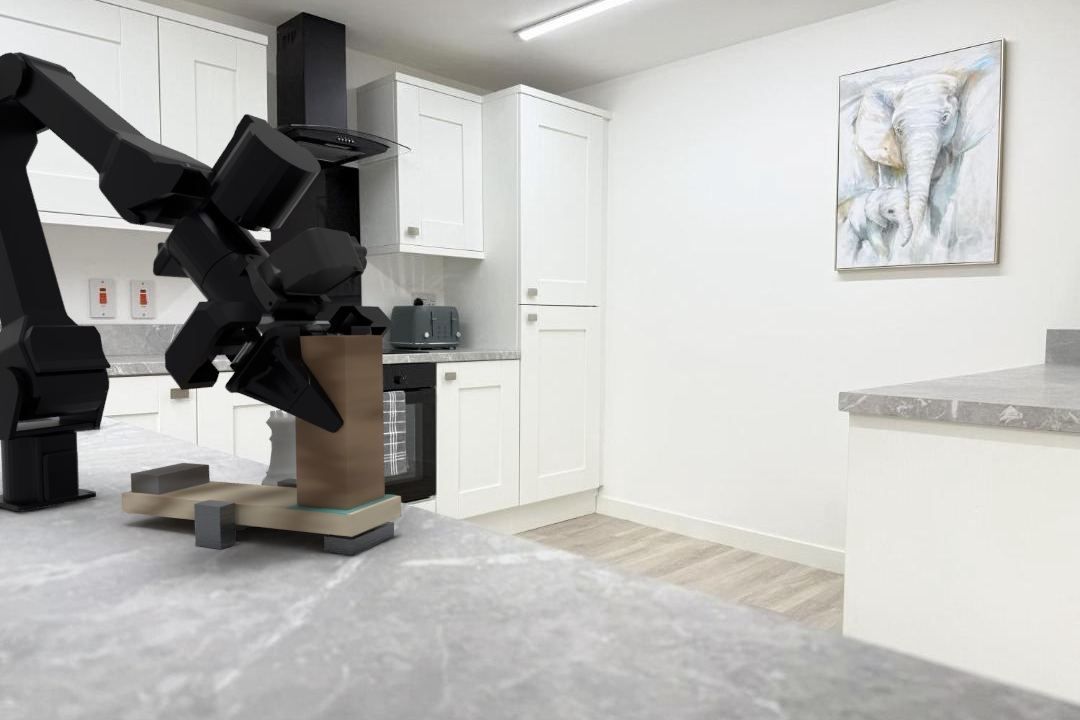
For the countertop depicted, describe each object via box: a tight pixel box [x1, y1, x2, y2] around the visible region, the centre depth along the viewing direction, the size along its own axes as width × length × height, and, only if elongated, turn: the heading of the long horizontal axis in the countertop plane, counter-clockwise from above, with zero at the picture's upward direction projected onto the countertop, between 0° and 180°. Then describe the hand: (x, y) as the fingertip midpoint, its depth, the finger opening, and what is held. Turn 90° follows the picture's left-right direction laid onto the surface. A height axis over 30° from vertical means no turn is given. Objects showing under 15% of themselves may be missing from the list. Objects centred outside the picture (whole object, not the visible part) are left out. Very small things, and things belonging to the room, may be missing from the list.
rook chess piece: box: [260, 409, 297, 486], centre depth 69 cm, size 4×4×8 cm
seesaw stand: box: [194, 478, 395, 556], centre depth 57 cm, size 12×10×3 cm
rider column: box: [295, 335, 386, 510], centre depth 55 cm, size 4×4×12 cm
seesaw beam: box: [120, 462, 402, 537], centre depth 59 cm, size 22×6×4 cm, turn 67°
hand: (359, 424), depth 55 cm, fingers closed on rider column, 4 cm apart
